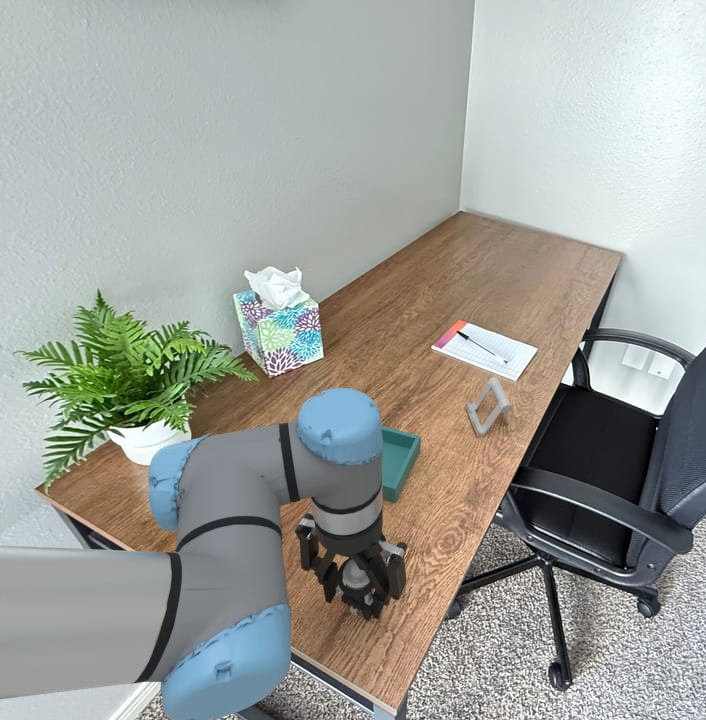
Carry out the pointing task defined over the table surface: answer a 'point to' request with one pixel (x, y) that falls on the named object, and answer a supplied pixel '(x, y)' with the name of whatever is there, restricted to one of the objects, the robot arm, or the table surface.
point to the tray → (397, 460)
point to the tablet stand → (502, 408)
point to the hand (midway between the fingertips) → (356, 601)
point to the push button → (355, 589)
